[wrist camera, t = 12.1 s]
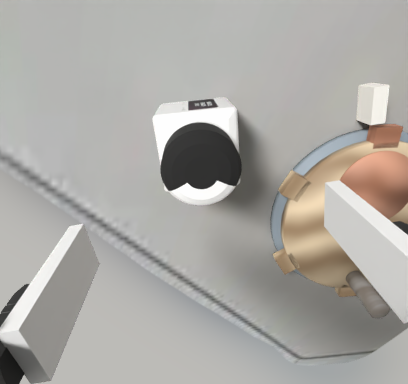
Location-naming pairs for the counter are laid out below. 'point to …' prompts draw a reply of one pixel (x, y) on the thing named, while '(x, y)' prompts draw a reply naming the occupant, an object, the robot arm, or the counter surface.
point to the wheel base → (338, 145)
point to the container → (198, 149)
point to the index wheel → (315, 201)
